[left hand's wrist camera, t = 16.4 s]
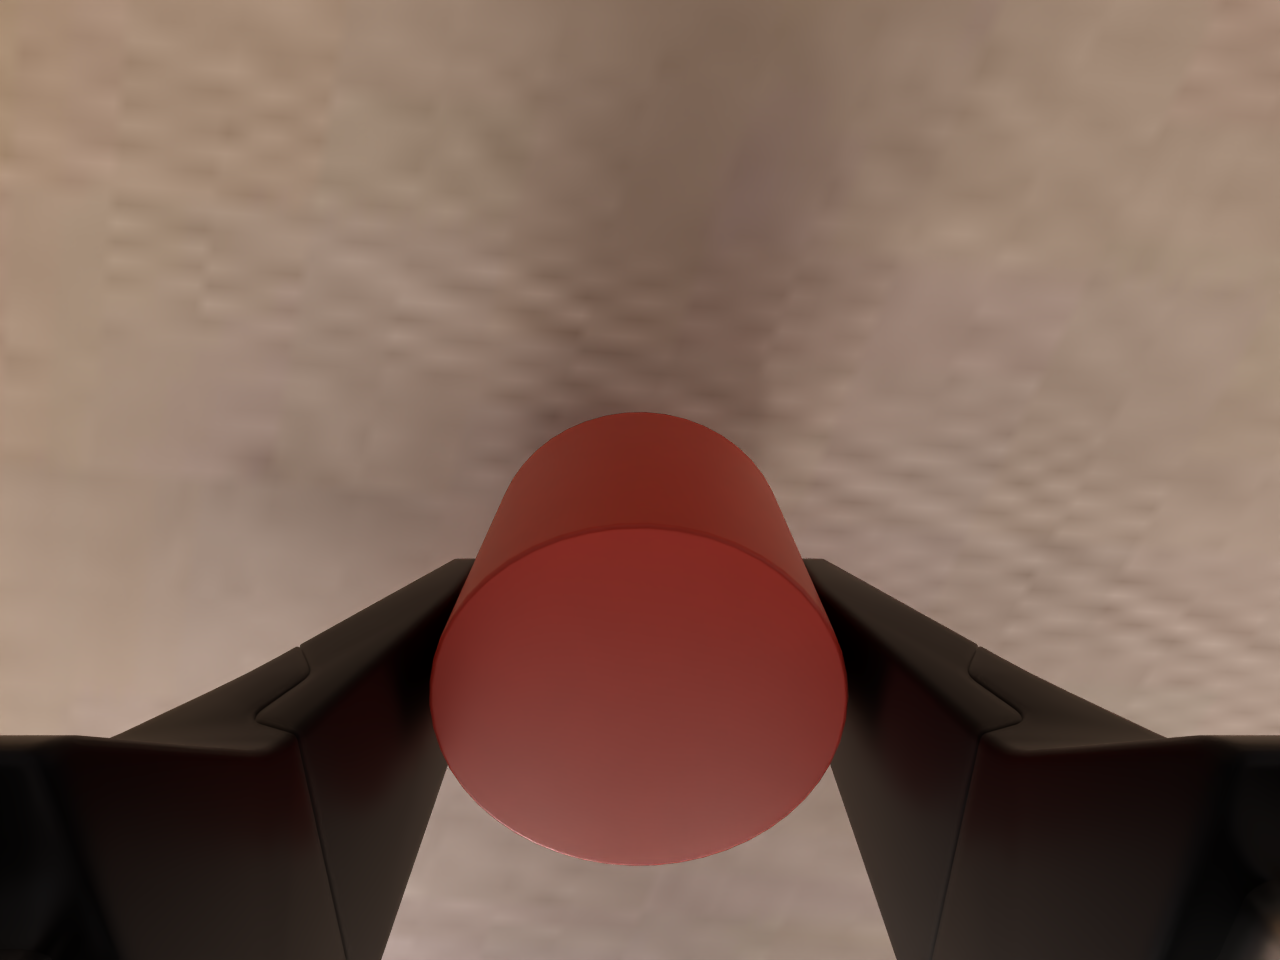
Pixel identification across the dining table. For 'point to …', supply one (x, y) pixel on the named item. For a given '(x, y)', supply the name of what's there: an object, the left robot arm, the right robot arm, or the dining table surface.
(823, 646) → the canister
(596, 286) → the dining table surface
